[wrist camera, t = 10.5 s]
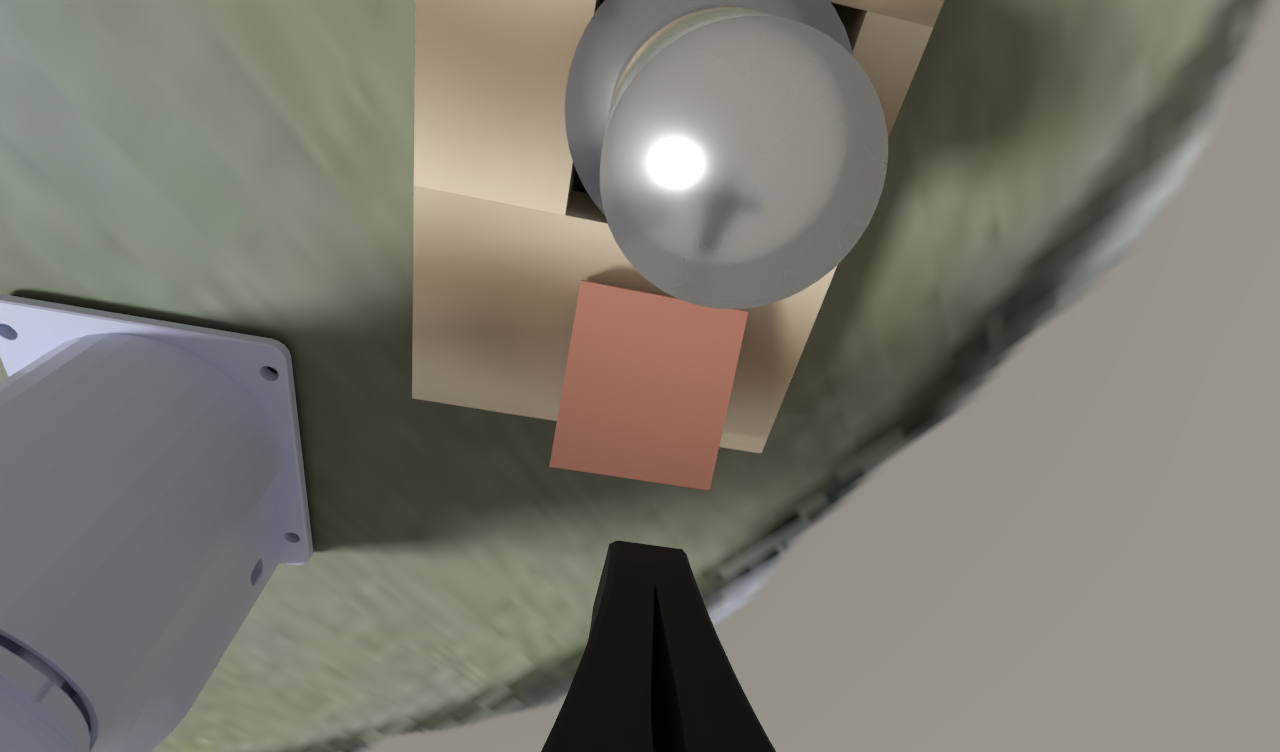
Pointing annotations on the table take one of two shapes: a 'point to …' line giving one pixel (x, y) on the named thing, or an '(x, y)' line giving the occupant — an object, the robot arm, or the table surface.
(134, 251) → the table surface
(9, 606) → the robot arm
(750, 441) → the hitch block
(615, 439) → the latch tab
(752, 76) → the silver knob
